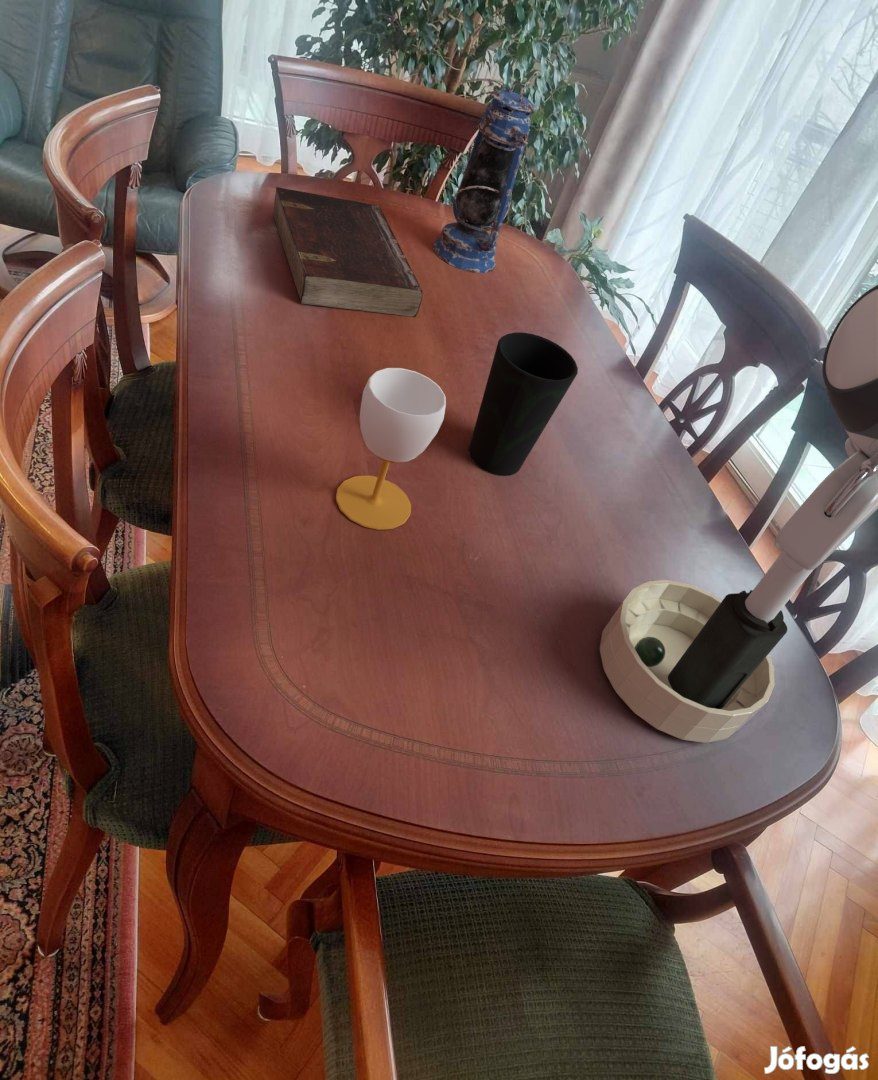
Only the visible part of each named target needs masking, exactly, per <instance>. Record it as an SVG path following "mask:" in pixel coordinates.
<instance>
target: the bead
mask: <svg viewBox="0 0 878 1080" xmlns="http://www.w3.org/2000/svg"><path fill="white" fill-rule="evenodd" d="M635 650H636V652H637V654H638V655H639V657H640V659H641V661H642V662H643V663H644V664H645V665H646V666H647V667H654V666H657V665H659V664H660V663H661V662H662V661H663V659H664V657H665V647H664V645H663V643H662V642H661V641H660V640H658V639H657V638H654V637H644V638H642V639H641V640H639V641H638V642H637V644H636V646H635Z"/></svg>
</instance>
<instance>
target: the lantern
mask: <svg viewBox="0 0 878 1080" xmlns="http://www.w3.org/2000/svg"><path fill="white" fill-rule="evenodd" d="M516 85H517V86H518V87H519V88H520V90H519V93H518V92H514V91H513V90H514V89H515V86H516ZM523 94H524V85H523V83H521V82H519V80H515V81H513V83H512V85H511V87H510V88H509V87H507V88H506V89H499V90H492V91H491V92H490V96H491V98H492V100H491V101H489V102H488V103H487V105H486V109H485V111H484V114H483V115H482V118H481V120H480V122H479V123H478V124H477V129H478V131H477V134H476V137H475V139H474V143H473V145H472V150H471V151H470V154H469V158H468V160H467V164H466V166H465V169H464V172H463V174H462V178H461V181H460V184H459V186H458V188H457V190H456V192H455V194H454V196H453V199H452V200H453V202H452V203H453V204H452V212H453V216H454V218H455V221H456V222H450V223H446V224H445V225H444V226H443V227H442V230H441V233H440V236H439V237H438V238H437V239H436V240H435V242H433V243H432V251H433V252H434V253H435V255H436V256H437V257H438V259H440V260H442V261H443V262H444V263H446V264H447V265H449V266H452V267H454V268H457V269H459V270H461V271H465V272H470V273H472V274H473V273H475V274H486V273H489V272H493V271H494V270H495V268H496V267H497V264H496V257H495V255H496V252H497V248H498V244H497V243H498V239H499V236H500V232H501V229H502V225H503V222H504V220H505V218H506V217H507V215H508V213H509V211H510V207H511V203H512V194H513V193H512V192H513V189H514V185H515V182H516V179H517V175H518V172H519V168H520V165H521V162H522V159H523V155H524V152H525V148H526V146H528V144H529V138H528V137H529V134H530V132H529V131H530V127H531V125H532V120H531V118H530V117H531V115H532V112H533V113H534V112H535V111H536V110H537V108H536V106H535V104H534V103H532V101H531V100H530V99H529V98H528V97H525V96H524V95H523ZM489 231H490V233H489Z"/></svg>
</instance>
